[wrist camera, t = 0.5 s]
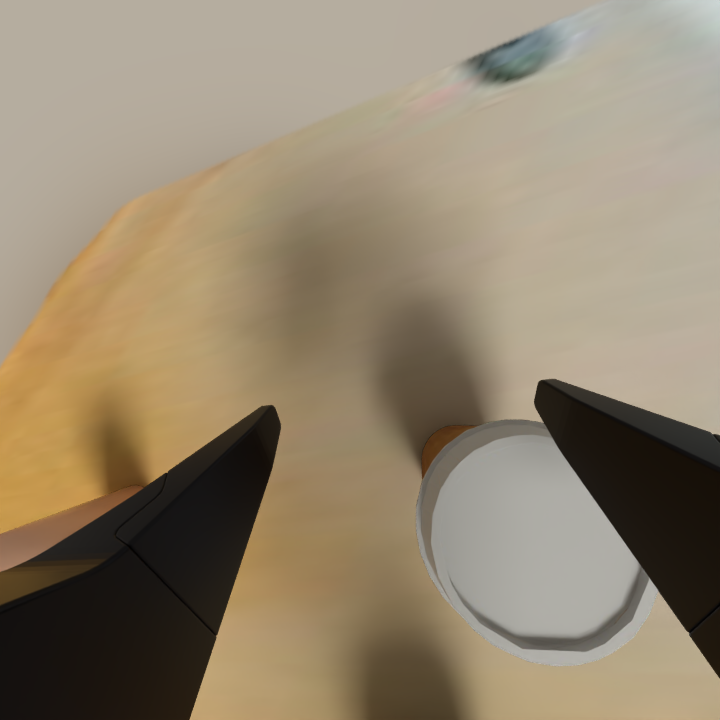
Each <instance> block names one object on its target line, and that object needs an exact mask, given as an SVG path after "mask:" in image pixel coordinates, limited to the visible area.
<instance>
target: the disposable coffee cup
mask: <svg viewBox="0 0 720 720" xmlns="http://www.w3.org/2000/svg"><path fill="white" fill-rule="evenodd" d="M416 532H417V538H418V544H419V549H420V553H421V556H422V558H423V561H424V563H425V566H426V568H427V571H428V573H429V576H430V577H431V579H432V581H433V582H434V584H435V585H436V587H437V589H438V590H439V592H440V593H441V595H442V596H443V598H444V599H445V600H446V601H447V602H448V603H449V604H450V605H451V606H452V607H453V608H454V609H455V610H456V611H457V612H458V614H459V615H460V616H461V617H462V618H464V619H465V621H466V622H467V623H468V624H469V625H470V626H471V627H472V629H473V630H474V631H476V632H477V633H478V634H479V635H481V636H482V637H483V638H484V639H486V640H487V641H488V642H490V643H491V644H492V645H494V646H496V647H498V648H500V649H502V650H504V651H506V652H508V653H510V654H512V655H514V656H516V657H519V658H521V659H524V660H526V661H528V662H532V663H538V664H545V665H551V666H572V665H581V664H585V663H589V662H593V661H597V660H599V659H601V658H603V657H605V656H607V655H609V654H611V653H614V652H615V651H616V650H618V649H619V648H620V647H621V646H623V645H624V644H625V643H627V642H628V641H629V640H631V639H632V638H633V637H634V636H635V635H636V633H637V632H638V630H639V629H640V627H641V626H642V624H643V623H644V622H645V620H646V619H647V617H648V616H649V614H650V612H651V609H652V607H653V604H654V601H655V599H656V596H657V593H658V590H657V588H656V587H655V585H654V584H653V583H652V581H651V580H650V578H649V577H648V575H647V574H646V573H645V571H644V570H643V568H642V567H641V565H640V564H639V563H638V561H637V560H636V558H635V557H634V556H633V554H632V553H631V551H630V550H629V548H628V547H627V546H626V544H625V543H624V541H623V540H622V538H621V537H620V536H619V534H618V533H617V531H616V530H615V529H614V527H613V526H612V524H611V523H610V521H609V520H608V519H607V517H606V516H605V514H604V513H603V511H602V510H601V509H600V507H599V506H598V504H597V503H596V502H595V500H594V499H593V497H592V496H591V494H590V493H589V492H588V490H587V489H586V487H585V486H584V484H583V483H582V482H581V480H580V479H579V477H578V476H577V474H576V473H575V472H574V470H573V469H572V467H571V466H570V465H569V463H568V462H567V460H566V459H565V457H564V456H563V455H562V453H561V452H560V450H559V449H558V447H557V445H556V444H555V442H554V440H553V438H552V437H551V435H550V433H549V431H548V429H547V428H546V426H545V424H544V423H541V422H536V421H529V420H500V421H493V422H488V423H485V424H483V425H480V426H461V425H452V426H447V427H444V428H442V429H440V430H438V431H437V432H435V433H434V434H433V435H432V436H431V437H430V438H429V439H428V441H427V442H426V444H425V447H424V449H423V453H422V483H421V488H420V492H419V496H418V500H417V504H416Z"/></svg>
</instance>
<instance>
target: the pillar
mask: <svg viewBox="0 0 720 720" xmlns="http://www.w3.org/2000/svg"><path fill="white" fill-rule="evenodd" d="M143 488H144V487H141V486H129V487H126V488H124V489H121V490H118V491H116V492H113V493H110V494H107V495H105V496H102V497H99V498H97V499H94V500H91V501H88V502H86V503H83V504H80V505H78V506H75V507H72V508H69V509H67V510H64V511H61V512H58V513H56V514H53V515H50V516H48V517H45V518H42V519H39V520H37V521H34V522H31V523H29V524H26V525H23V526H20V527H18V528H15V529H12V530H10V531H7V532H4V533H1V534H0V572H1V571H4V570H7V569H9V568H12V567H14V566H16V565H19V564H21V563H23V562H25V561H27V560H29V559H31V558H33V557H35V556H37V555H39V554H40V553H42V552H44V551H45V550H47V549H49V548H50V547H52V546H54V545H55V544H57V543H58V542H60V541H62V540H63V539H65V538H66V537H68V536H69V535H71V534H73V533H74V532H76V531H77V530H79V529H81V528H82V527H84V526H85V525H87V524H89V523H90V522H92V521H93V520H95V519H96V518H98V517H100V516H101V515H103V514H104V513H106V512H108V511H109V510H111V509H112V508H114V507H115V506H117V505H118V504H120V503H122V502H123V501H125V500H126V499H128V498H129V497H131V496H132V495H134V494H135V493H137V492H138V491H140V490H141V489H143Z"/></svg>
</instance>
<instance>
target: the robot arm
mask: <svg viewBox="0 0 720 720" xmlns="http://www.w3.org/2000/svg"><path fill="white" fill-rule="evenodd" d="M534 404H535V408H536V410H537V411H538V413H539V415H540V417H541V419H542V420H543V422H544V424H545V426H546V428H547V429H548V431H549V433H550V435H551V437H552V438H553V440H554V442H555V444H556V445H557V447H558V449H559V450H560V452H561V453H562V455H563V456H564V457H565V459H566V460H567V462H568V463H569V465H570V466H571V467H572V469H573V470H574V472H575V473H576V474H577V476H578V477H579V479H580V480H581V482H582V483H583V484H584V486H585V487H586V489H587V490H588V492H589V493H590V494H591V496H592V497H593V499H594V500H595V502H596V503H597V504H598V506H599V507H600V509H601V510H602V511H603V513H604V514H605V516H606V517H607V519H608V520H609V521H610V523H611V524H612V526H613V527H614V529H615V530H616V531H617V533H618V534H619V536H620V537H621V538H622V540H623V541H624V543H625V544H626V546H627V547H628V548H629V550H630V551H631V553H632V554H633V556H634V557H635V558H636V560H637V561H638V563H639V564H640V565H641V567H642V568H643V570H644V571H645V573H646V574H647V575H648V577H649V578H650V580H651V581H652V583H653V584H654V585H655V587H656V588H657V590H658V591H659V593H660V594H661V595H662V597H663V598H664V600H665V601H666V602H667V604H668V605H669V607H670V608H671V610H672V611H673V612H674V614H675V615H676V617H677V618H678V620H679V621H680V622H681V624H682V625H683V627H684V628H685V629H686V631H687V632H689V636H690V637H691V638H692V640H693V641H694V643H695V644H696V646H697V647H698V648H699V650H700V651H701V653H702V654H703V656H704V657H705V658H706V660H707V661H708V663H709V664H710V665H711V667H712V668H713V670H714V671H715V673H716V674H717V675H718V677H719V678H720V435H717V434H712V433H711V432H708V431H705V430H702V429H699V428H696V427H694V426H691V425H688V424H685V423H682V422H679V421H676V420H673V419H670V418H667V417H664V416H661V415H659V414H656V413H653V412H650V411H647V410H644V409H641V408H638V407H635V406H632V405H629V404H626V403H623V402H621V401H618V400H615V399H612V398H609V397H606V396H603V395H600V394H597V393H594V392H591V391H588V390H586V389H583V388H580V387H577V386H574V385H571V384H568V383H565V382H562V381H559V380H556V379H546V380H541V381H539V382H538V385H537V390H536V395H535V399H534ZM280 430H281V423H280V420H279V417H278V414H277V412H276V409H275V407H274V406H273V405H267V406H261V407H260V408H258V409H257V410H255V411H254V412H252V413H251V414H250V415H248V416H247V417H245V418H244V419H242V420H241V421H240V422H238V423H237V424H235V425H234V426H232V427H231V428H229V429H228V430H227V431H225V432H224V433H222V434H221V435H219V436H218V437H217V438H215V439H214V440H212V441H211V442H209V443H208V444H206V445H205V446H204V447H202V448H201V449H199V450H198V451H196V452H195V453H193V454H192V455H191V456H189V457H188V458H186V459H185V460H183V461H182V462H181V463H179V464H178V465H176V466H175V467H173V468H172V469H170V470H169V471H168V473H165V474H163V475H162V476H160V477H159V478H157V479H156V480H155V481H153V482H152V483H150V484H149V485H147V486H146V487H144V488H143V489H141V490H140V491H138V492H137V493H135V494H134V495H132V496H131V497H129V498H128V499H126V500H125V501H123V502H122V503H120V504H118V505H117V506H115V507H114V508H112V509H111V510H109V511H108V512H106V513H104V514H103V515H101V516H100V517H98V518H96V519H95V520H93V521H92V522H90V523H89V524H87V525H85V526H84V527H82V528H81V529H79V530H77V531H76V532H74V533H73V534H71V535H69V536H68V537H66V538H65V539H63V540H62V541H60V542H58V543H57V544H55V545H54V546H52V547H50V548H49V549H47V550H45V551H44V552H42V553H40V554H39V555H37V556H35V557H33V558H31V559H29V560H27V561H25V562H23V563H21V564H19V565H16V566H14V567H12V568H9V569H7V570H4V571H1V572H0V720H189V719H190V716H191V713H192V710H193V707H194V704H195V701H196V698H197V695H198V692H199V689H200V686H201V683H202V680H203V677H204V674H205V671H206V668H207V665H208V662H209V659H210V656H211V653H212V650H213V647H214V644H215V641H216V635H217V634H218V631H219V628H220V625H221V622H222V619H223V616H224V613H225V610H226V607H227V604H228V601H229V598H230V595H231V592H232V589H233V586H234V583H235V580H236V577H237V574H238V571H239V568H240V565H241V562H242V559H243V556H244V553H245V549H246V546H247V543H248V540H249V537H250V534H251V531H252V528H253V525H254V522H255V519H256V516H257V513H258V510H259V507H260V504H261V501H262V498H263V495H264V492H265V489H266V486H267V483H268V480H269V477H270V474H271V471H272V467H273V463H274V459H275V454H276V449H277V445H278V440H279V435H280Z"/></svg>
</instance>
